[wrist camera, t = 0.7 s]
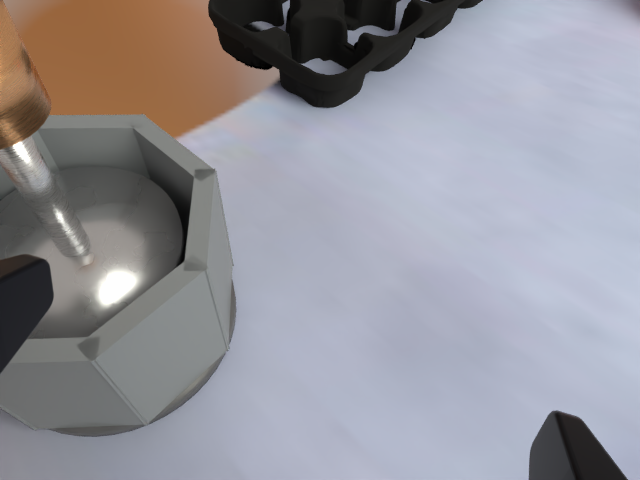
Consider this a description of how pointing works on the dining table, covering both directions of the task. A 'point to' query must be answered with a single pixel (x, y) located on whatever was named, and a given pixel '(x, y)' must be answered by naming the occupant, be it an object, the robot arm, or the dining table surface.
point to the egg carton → (325, 39)
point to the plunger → (76, 212)
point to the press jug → (143, 313)
